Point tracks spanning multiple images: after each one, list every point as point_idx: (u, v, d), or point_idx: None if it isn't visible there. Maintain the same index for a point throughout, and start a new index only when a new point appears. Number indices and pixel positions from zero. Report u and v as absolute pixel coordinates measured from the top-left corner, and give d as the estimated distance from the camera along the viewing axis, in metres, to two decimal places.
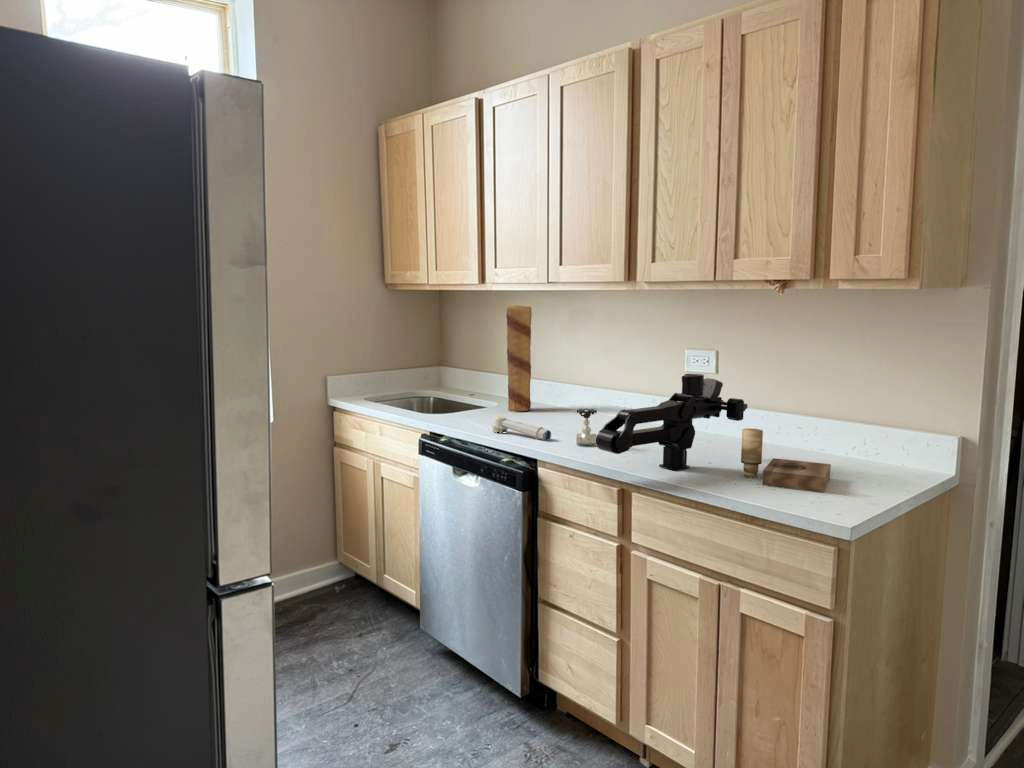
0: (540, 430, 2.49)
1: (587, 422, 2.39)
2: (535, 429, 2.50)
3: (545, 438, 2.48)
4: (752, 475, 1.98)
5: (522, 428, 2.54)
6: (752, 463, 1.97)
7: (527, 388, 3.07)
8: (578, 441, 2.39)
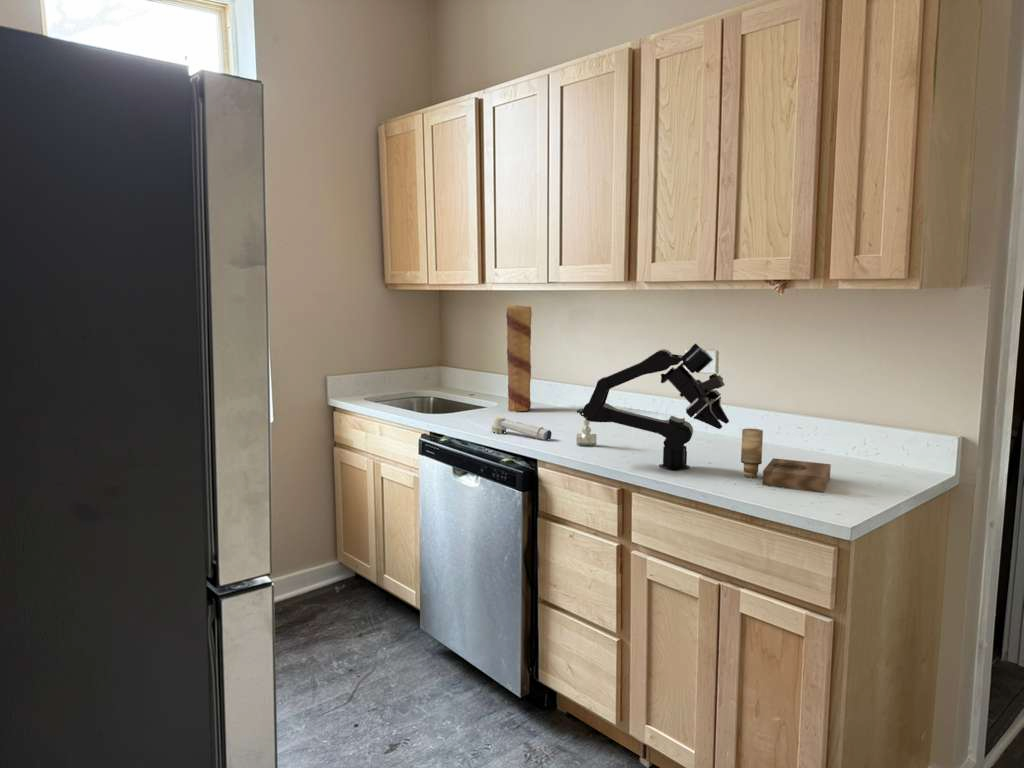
0: (541, 430, 2.49)
1: (587, 422, 2.39)
2: (535, 429, 2.50)
3: (546, 438, 2.48)
4: (752, 475, 1.98)
5: (522, 429, 2.53)
6: (752, 463, 1.97)
7: (527, 388, 3.07)
8: (578, 441, 2.39)
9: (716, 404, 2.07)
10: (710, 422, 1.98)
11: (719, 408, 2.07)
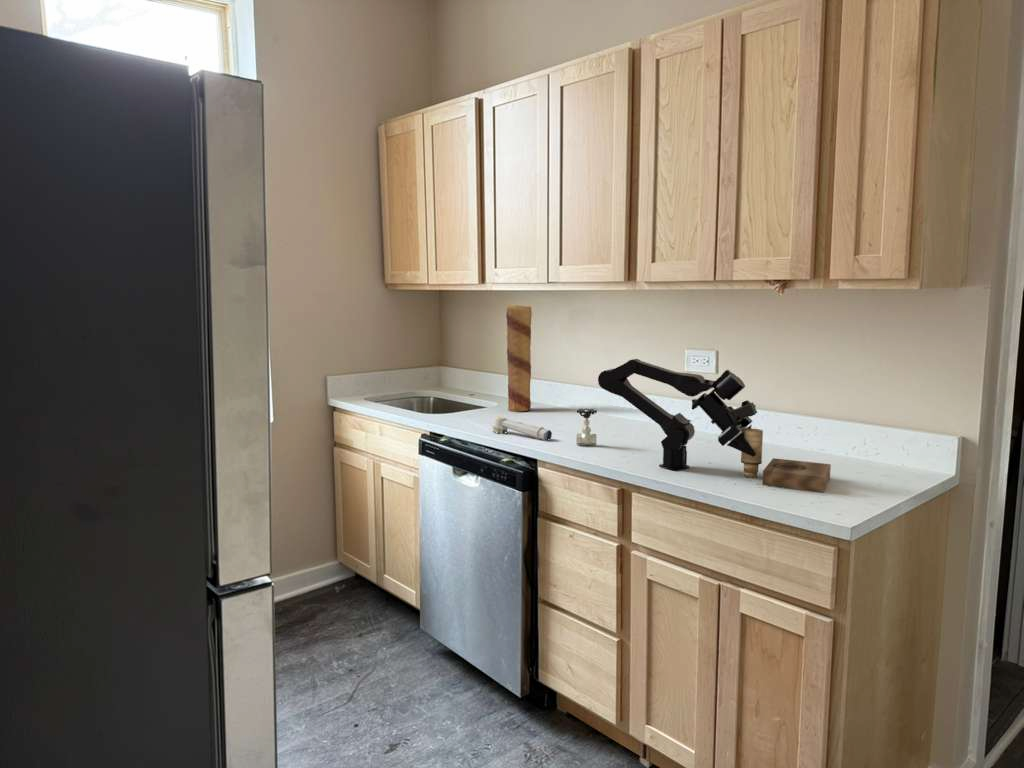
0: (541, 430, 2.49)
1: (587, 422, 2.39)
2: (536, 429, 2.50)
3: (546, 438, 2.48)
4: (752, 475, 1.98)
5: (522, 428, 2.53)
6: (752, 463, 1.97)
7: (527, 388, 3.07)
8: (578, 441, 2.39)
9: None
10: (744, 449, 1.96)
11: None
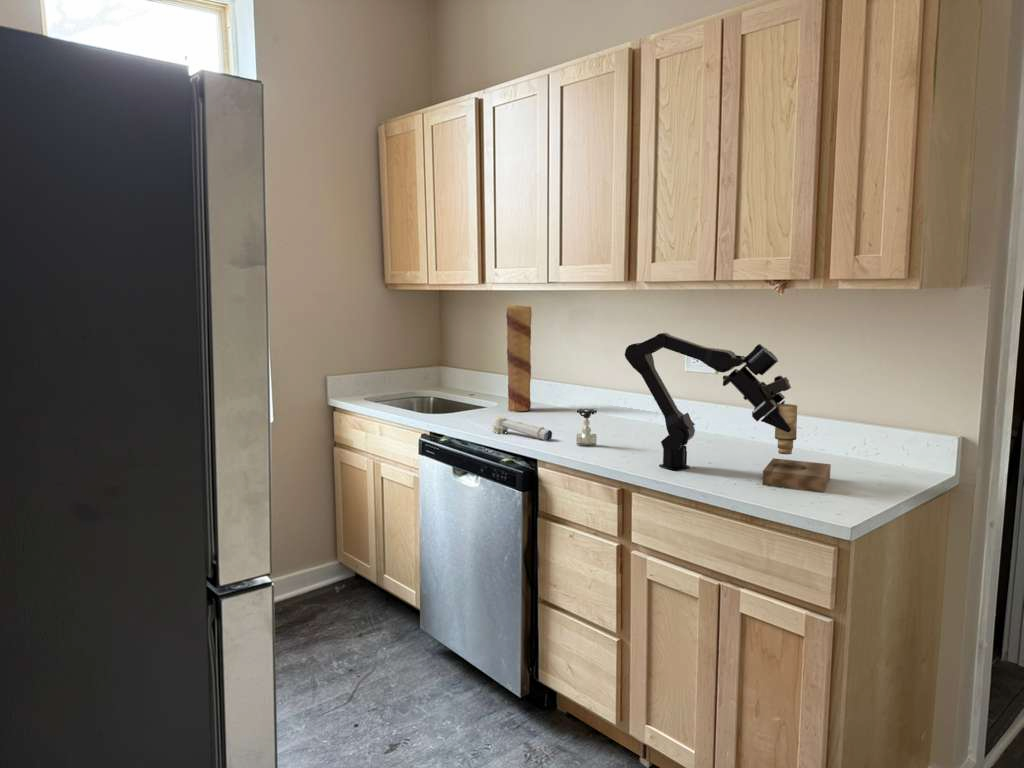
0: (541, 430, 2.49)
1: (587, 422, 2.39)
2: (536, 429, 2.50)
3: (546, 438, 2.48)
4: (787, 451, 1.93)
5: (523, 429, 2.53)
6: (787, 439, 1.92)
7: (527, 388, 3.07)
8: (578, 441, 2.39)
9: None
10: (778, 425, 1.91)
11: None
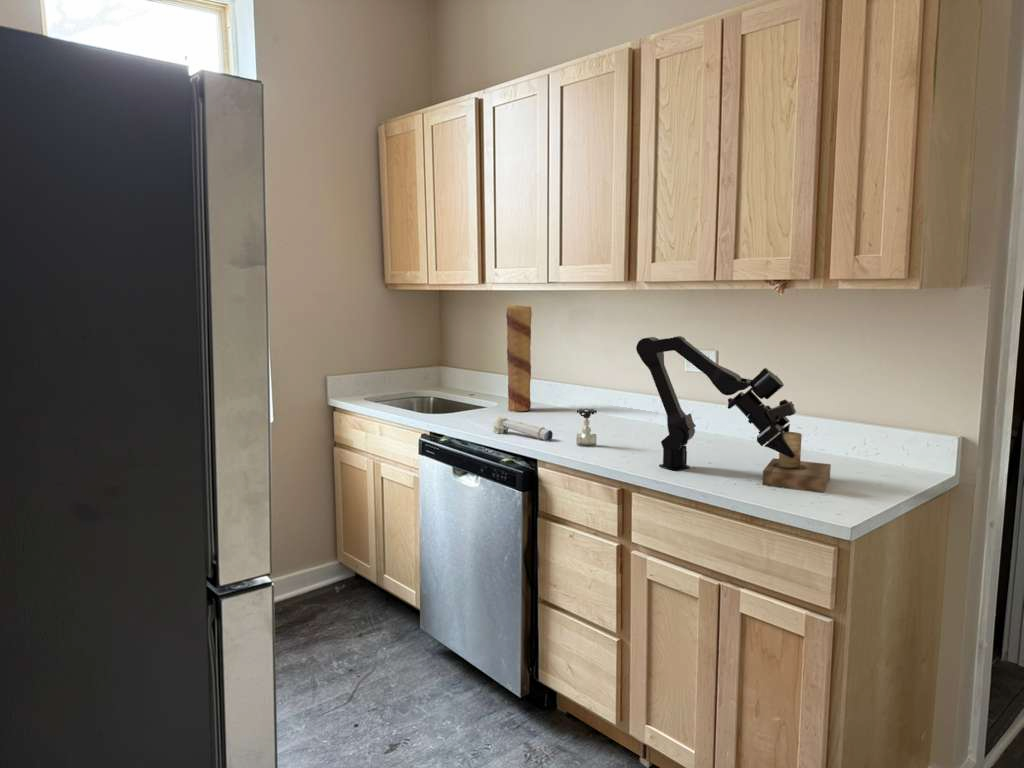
0: (542, 430, 2.49)
1: (587, 422, 2.39)
2: (537, 429, 2.50)
3: (547, 438, 2.48)
4: None
5: (523, 429, 2.53)
6: (791, 467, 1.92)
7: (527, 388, 3.07)
8: (578, 441, 2.39)
9: (785, 431, 1.98)
10: (782, 450, 1.90)
11: None
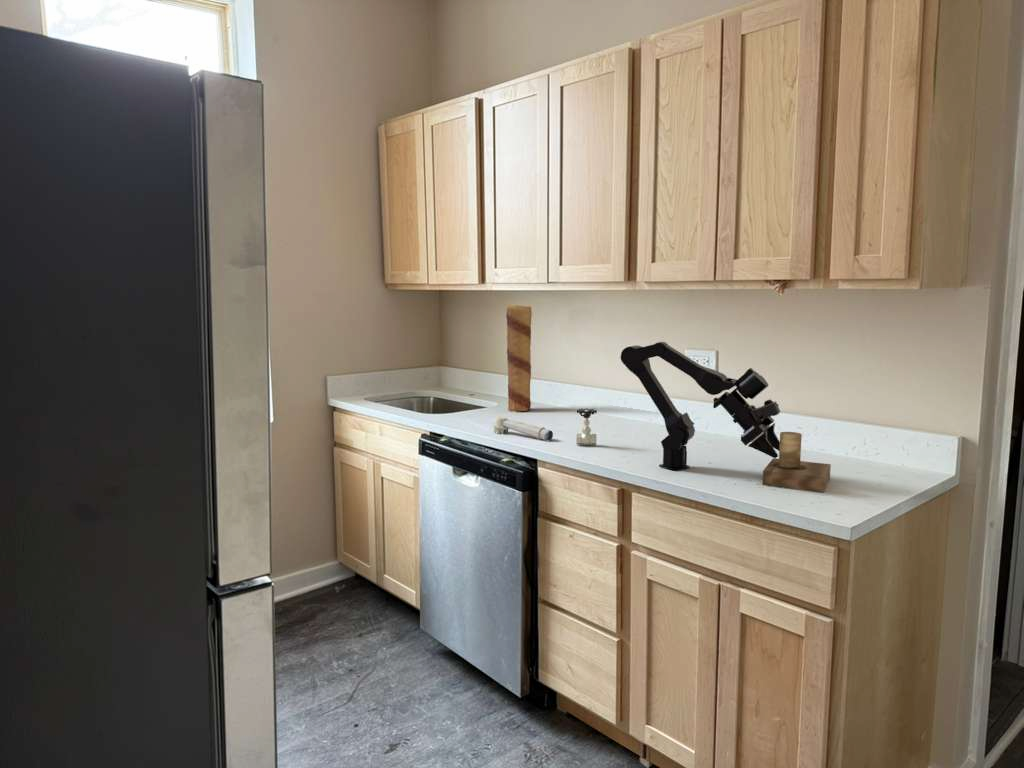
0: (542, 430, 2.48)
1: (587, 422, 2.39)
2: (537, 429, 2.50)
3: (547, 438, 2.47)
4: None
5: (523, 429, 2.53)
6: (791, 467, 1.92)
7: (527, 388, 3.07)
8: (578, 441, 2.39)
9: (770, 431, 2.01)
10: (765, 451, 1.92)
11: (773, 435, 2.00)
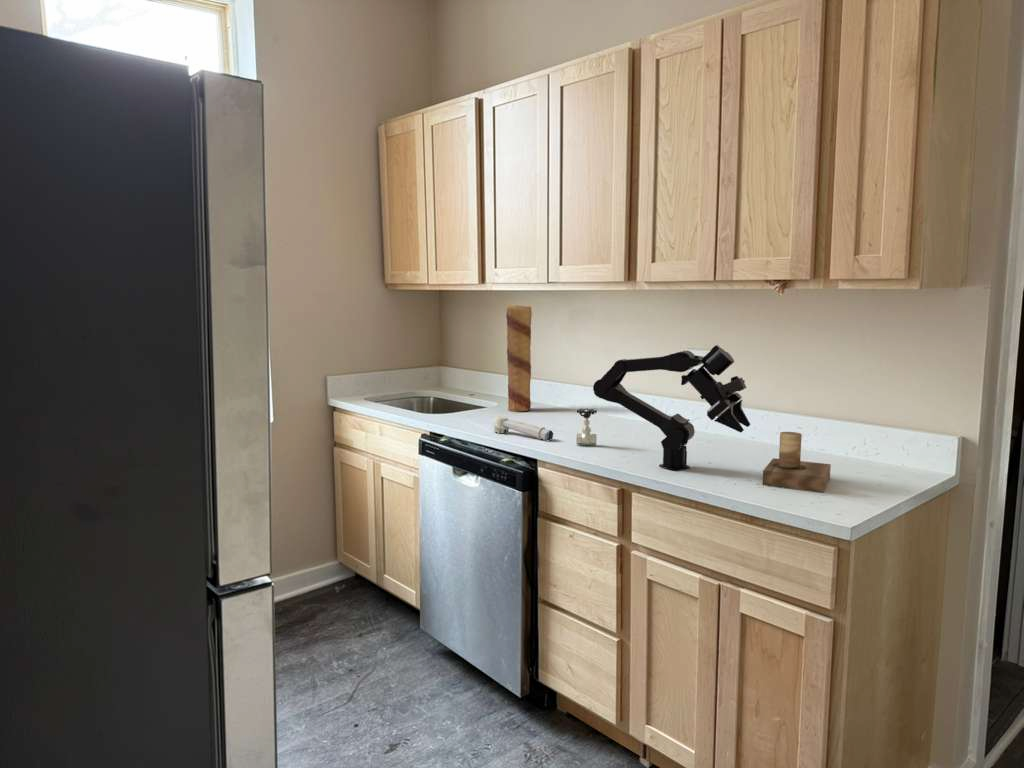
0: (542, 430, 2.48)
1: (587, 422, 2.39)
2: (537, 429, 2.50)
3: (547, 438, 2.47)
4: None
5: (524, 429, 2.53)
6: (791, 467, 1.92)
7: (527, 388, 3.07)
8: (578, 441, 2.39)
9: (737, 407, 2.04)
10: (731, 425, 1.95)
11: (740, 411, 2.04)
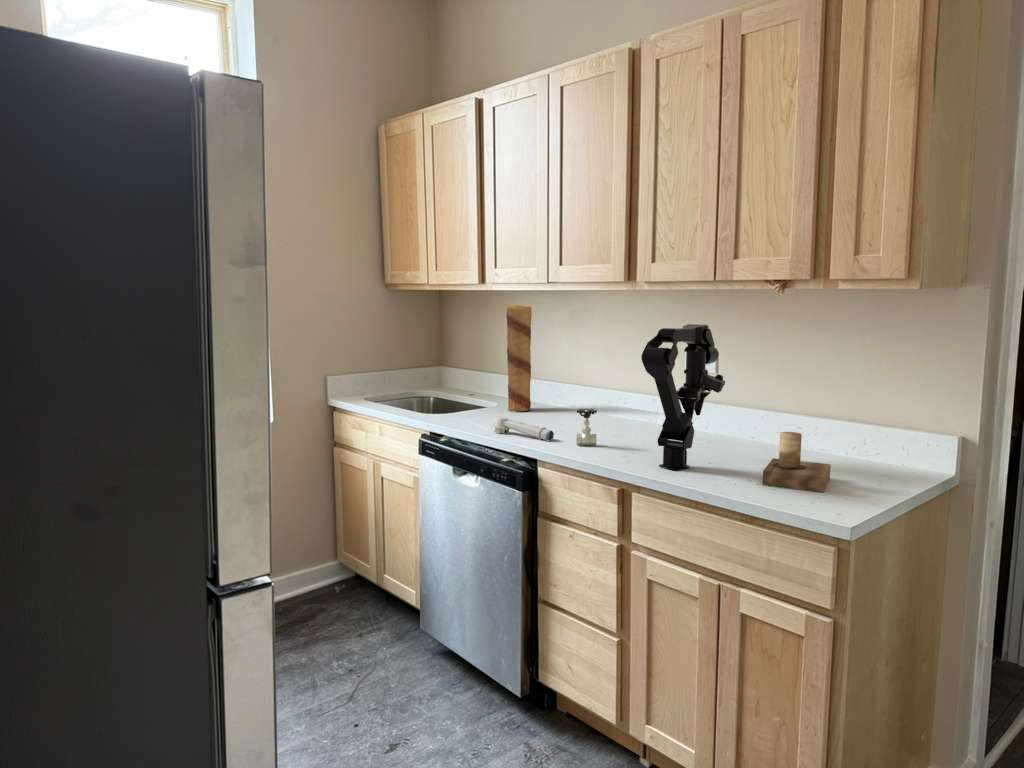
0: (543, 430, 2.48)
1: (587, 422, 2.39)
2: (538, 429, 2.50)
3: (548, 438, 2.47)
4: None
5: (524, 429, 2.53)
6: (791, 467, 1.92)
7: (527, 388, 3.07)
8: (578, 441, 2.39)
9: (702, 396, 2.21)
10: (686, 410, 2.13)
11: (701, 400, 2.21)
